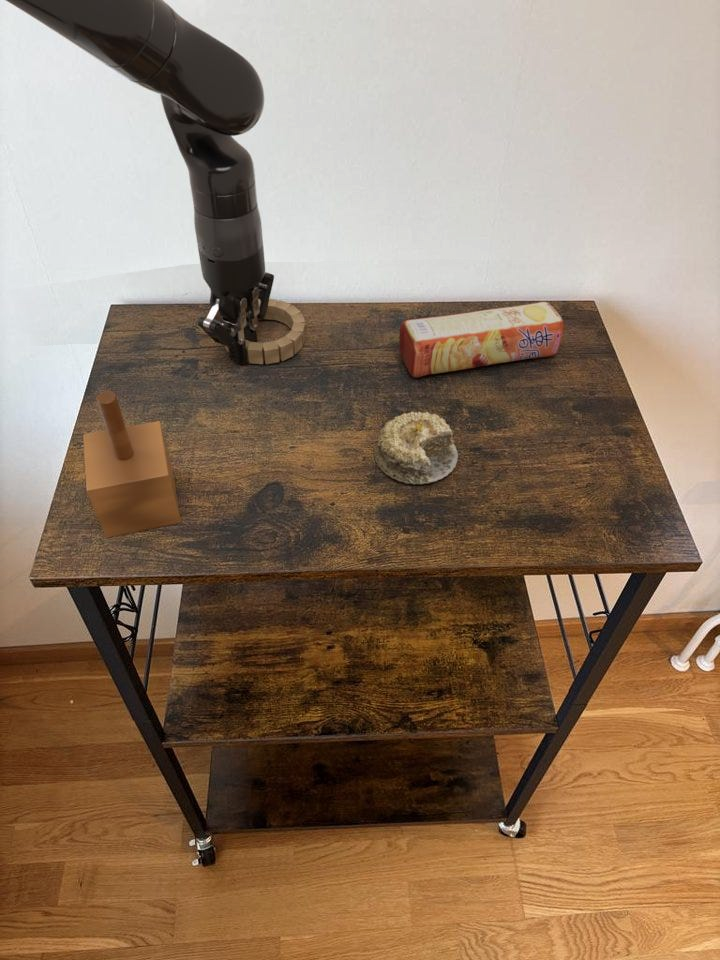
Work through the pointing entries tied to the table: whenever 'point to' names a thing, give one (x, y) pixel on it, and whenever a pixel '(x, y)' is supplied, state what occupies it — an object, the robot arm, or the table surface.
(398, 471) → the cake
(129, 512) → the post
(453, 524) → the table surface
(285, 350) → the ring
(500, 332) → the snack package
